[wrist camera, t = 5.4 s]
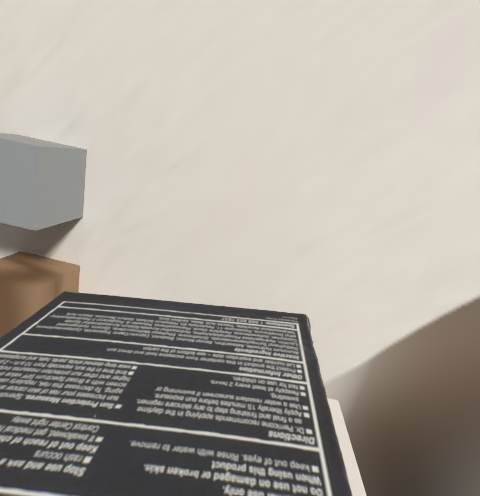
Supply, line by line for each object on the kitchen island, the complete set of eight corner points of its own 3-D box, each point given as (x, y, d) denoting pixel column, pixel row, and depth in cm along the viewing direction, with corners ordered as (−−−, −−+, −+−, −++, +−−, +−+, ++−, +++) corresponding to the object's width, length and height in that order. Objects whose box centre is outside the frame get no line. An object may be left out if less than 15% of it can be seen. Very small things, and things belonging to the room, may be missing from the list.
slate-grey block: (21, 202, 24) (-42, 213, 19) (21, 135, 22) (-47, 127, 18) (83, 216, 24) (35, 230, 19) (87, 149, 22) (37, 146, 17)
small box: (74, 411, 15) (-328, 934, 5) (60, 286, 13) (-627, 707, 3) (294, 437, 14) (361, 1106, 4) (311, 310, 12) (507, 950, 2)
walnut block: (20, 306, 26) (-36, 338, 21) (21, 251, 25) (-39, 272, 20) (76, 319, 26) (33, 355, 21) (80, 265, 25) (35, 289, 20)
